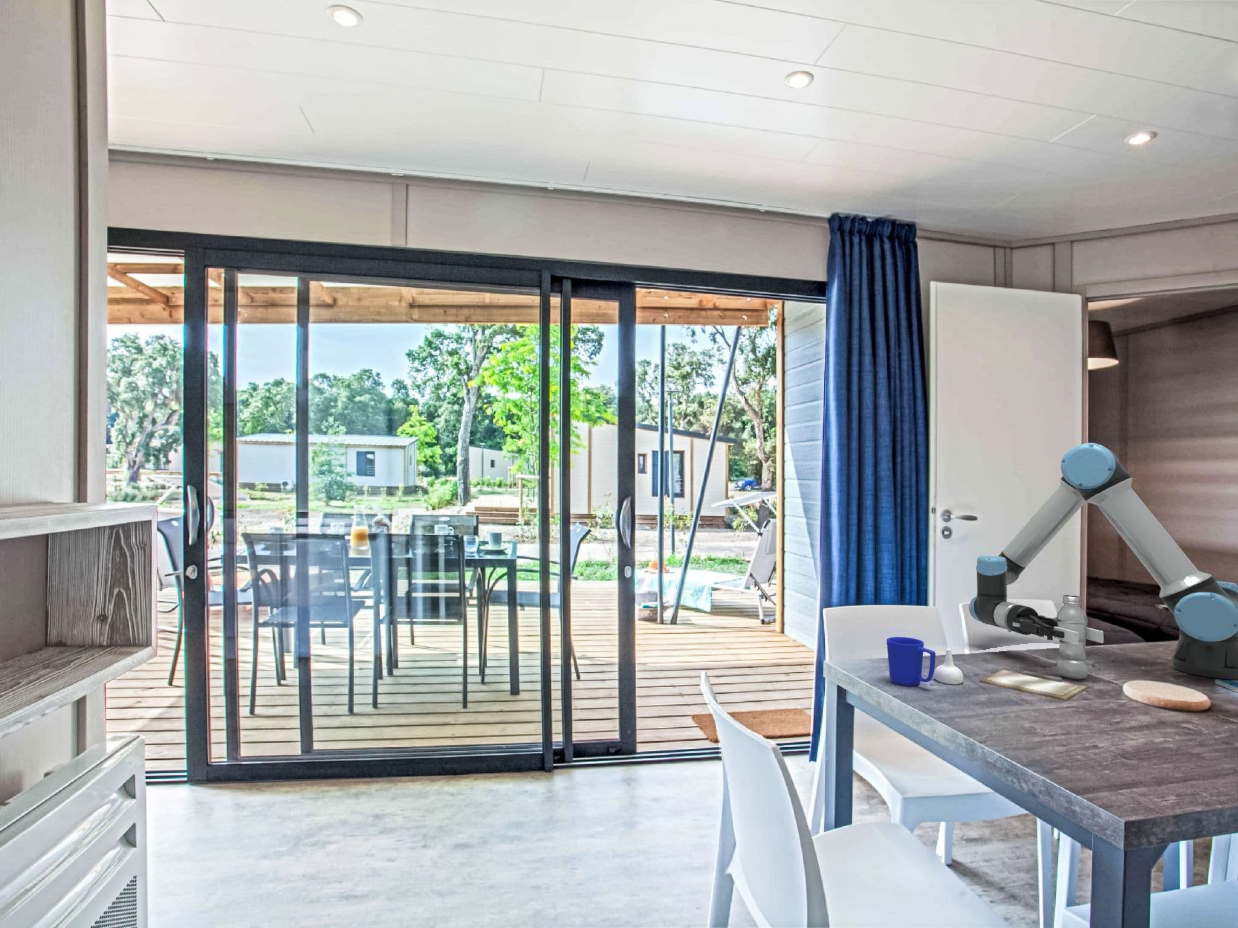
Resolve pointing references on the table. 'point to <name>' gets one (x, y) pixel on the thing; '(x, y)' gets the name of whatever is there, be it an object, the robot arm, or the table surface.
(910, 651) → the mug
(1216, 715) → the table surface
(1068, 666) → the plastic bottle
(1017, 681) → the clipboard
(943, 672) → the garlic bulb
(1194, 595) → the robot arm
